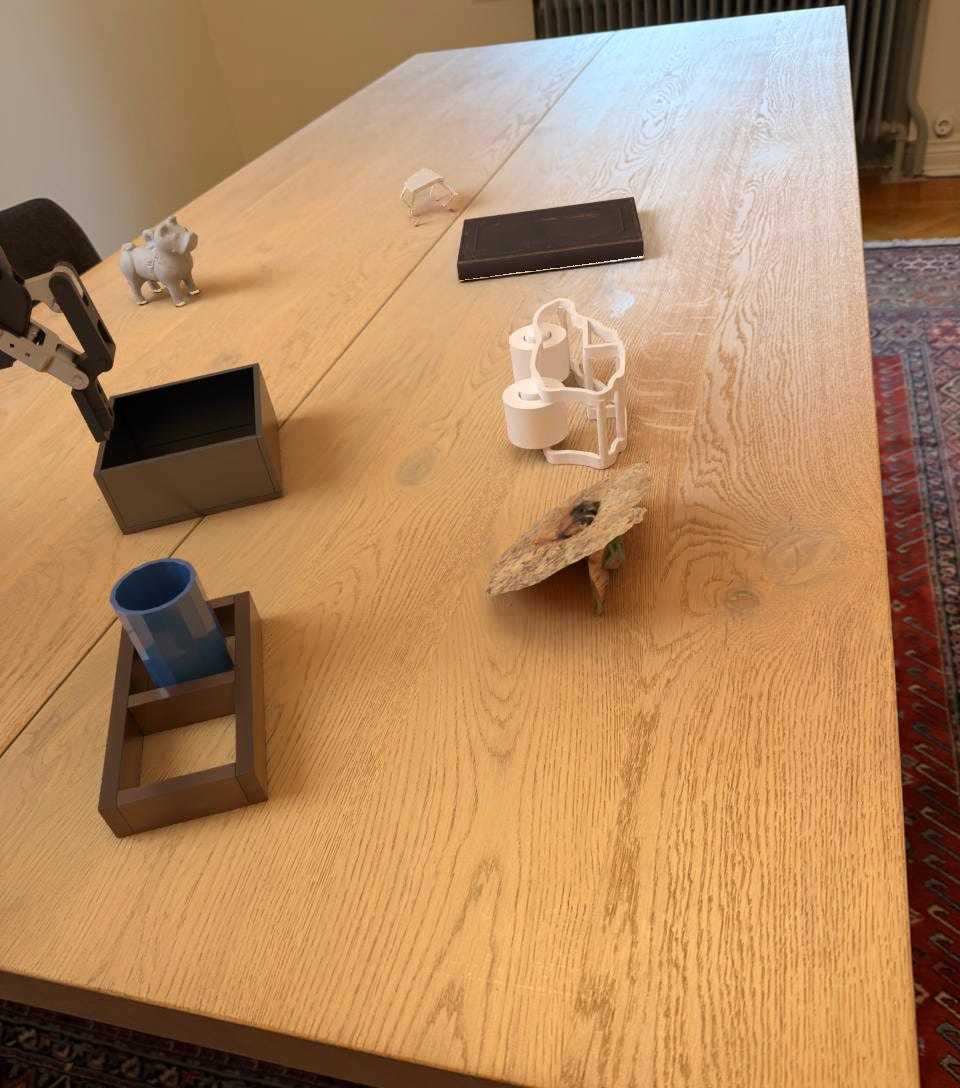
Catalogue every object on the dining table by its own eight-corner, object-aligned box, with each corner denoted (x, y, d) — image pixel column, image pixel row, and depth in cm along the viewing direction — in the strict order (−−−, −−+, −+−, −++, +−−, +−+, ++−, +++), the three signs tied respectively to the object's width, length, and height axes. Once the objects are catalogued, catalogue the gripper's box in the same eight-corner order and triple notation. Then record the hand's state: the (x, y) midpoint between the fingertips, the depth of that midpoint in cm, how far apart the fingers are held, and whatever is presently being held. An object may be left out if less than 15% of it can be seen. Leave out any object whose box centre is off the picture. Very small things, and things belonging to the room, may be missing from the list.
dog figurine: (205, 308, 125) (176, 226, 117) (128, 306, 129) (95, 227, 122) (226, 290, 128) (199, 210, 121) (150, 289, 132) (119, 211, 125)
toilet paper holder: (517, 370, 99) (509, 303, 94) (623, 360, 97) (620, 291, 92) (507, 477, 84) (496, 404, 80) (631, 467, 83) (628, 392, 78)
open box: (122, 535, 87) (92, 475, 82) (135, 453, 98) (109, 396, 94) (283, 497, 88) (262, 435, 83) (277, 419, 99) (258, 362, 94)
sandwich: (514, 592, 83) (481, 513, 80) (673, 535, 79) (643, 450, 77) (503, 676, 66) (460, 579, 63) (702, 608, 63) (666, 503, 60)
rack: (116, 838, 61) (96, 810, 59) (137, 648, 74) (122, 620, 72) (268, 800, 61) (254, 771, 59) (261, 618, 75) (249, 589, 73)
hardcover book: (466, 236, 130) (463, 219, 128) (634, 214, 127) (633, 196, 125) (459, 283, 118) (456, 265, 116) (644, 260, 115) (643, 241, 113)
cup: (156, 713, 69) (105, 622, 63) (160, 659, 73) (113, 569, 67) (236, 693, 69) (194, 601, 63) (236, 640, 73) (196, 550, 67)
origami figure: (463, 218, 135) (458, 182, 132) (406, 230, 135) (399, 194, 132) (454, 192, 144) (449, 158, 140) (401, 203, 144) (394, 169, 140)
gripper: (32, 138, 52) (150, 399, 63) (-223, 202, 52) (-59, 454, 62) (11, 175, 47) (145, 453, 58) (-275, 247, 46) (-85, 514, 57)
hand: (39, 453), depth 60 cm, fingers open, 8 cm apart
